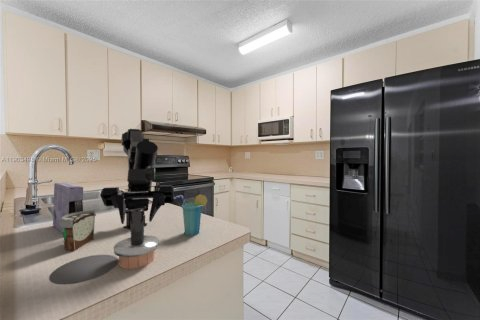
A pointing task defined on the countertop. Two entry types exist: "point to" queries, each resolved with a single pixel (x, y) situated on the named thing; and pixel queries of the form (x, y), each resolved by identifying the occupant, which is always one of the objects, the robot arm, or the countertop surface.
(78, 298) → the countertop surface
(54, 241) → the countertop surface
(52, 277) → the rubber mat
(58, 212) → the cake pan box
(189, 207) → the cup
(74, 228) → the food container
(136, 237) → the steel lid
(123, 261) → the terracotta bowl
